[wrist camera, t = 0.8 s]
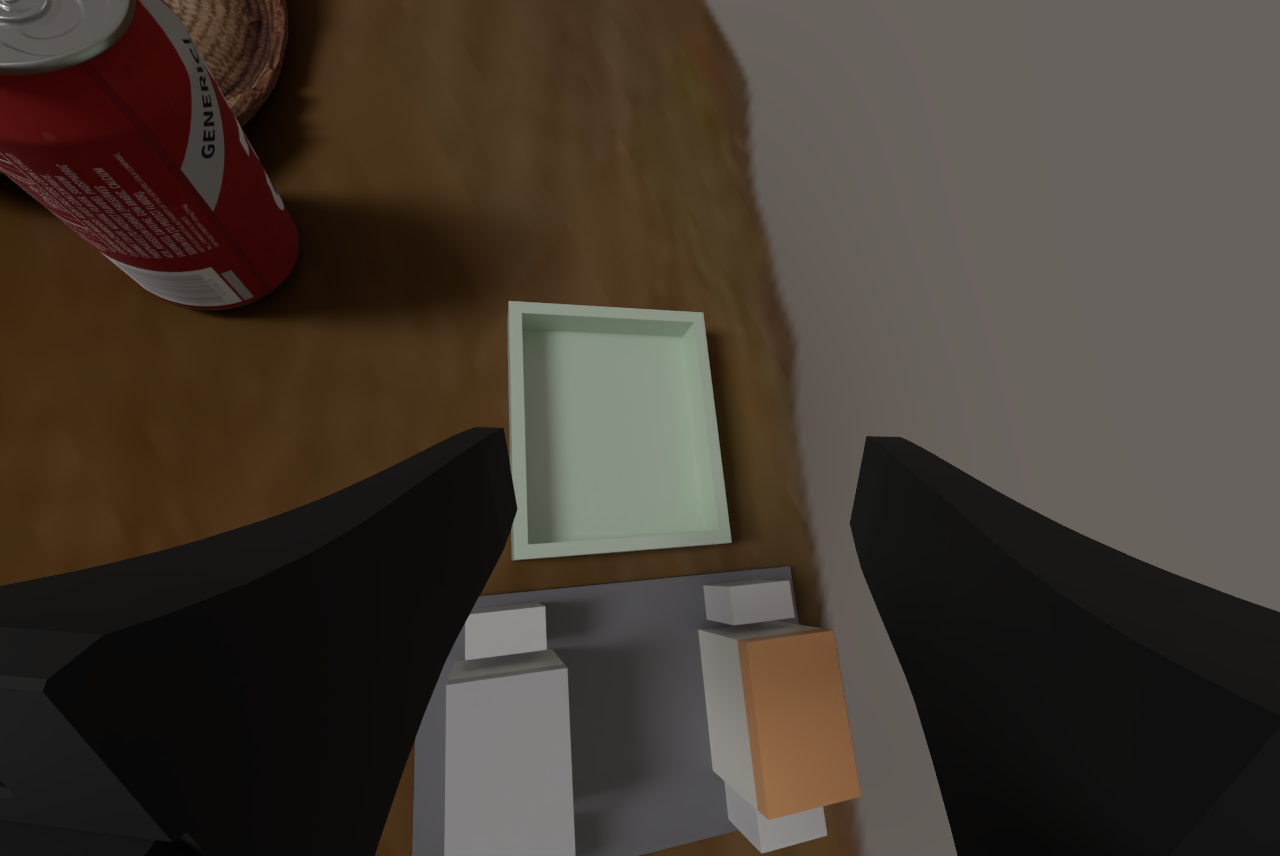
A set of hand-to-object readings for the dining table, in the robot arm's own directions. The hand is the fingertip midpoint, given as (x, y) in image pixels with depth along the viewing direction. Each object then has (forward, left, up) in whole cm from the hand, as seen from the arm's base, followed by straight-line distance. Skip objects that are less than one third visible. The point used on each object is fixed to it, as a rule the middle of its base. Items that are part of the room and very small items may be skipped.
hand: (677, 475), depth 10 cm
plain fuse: (-8, +3, -15) cm, 17 cm away
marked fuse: (-8, -8, -15) cm, 19 cm away
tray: (+5, -2, -16) cm, 17 cm away
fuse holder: (-8, -2, -16) cm, 18 cm away
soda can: (+14, +16, -16) cm, 26 cm away
